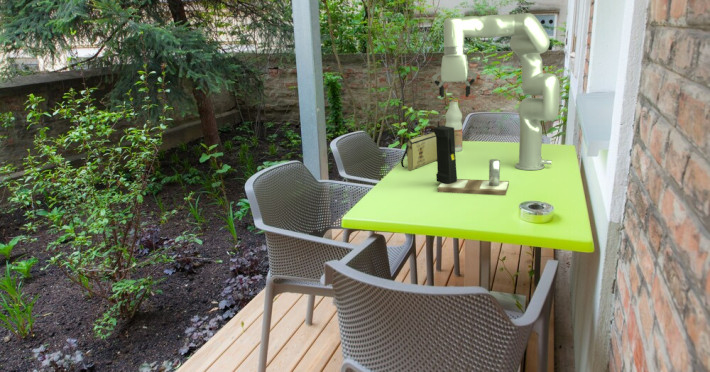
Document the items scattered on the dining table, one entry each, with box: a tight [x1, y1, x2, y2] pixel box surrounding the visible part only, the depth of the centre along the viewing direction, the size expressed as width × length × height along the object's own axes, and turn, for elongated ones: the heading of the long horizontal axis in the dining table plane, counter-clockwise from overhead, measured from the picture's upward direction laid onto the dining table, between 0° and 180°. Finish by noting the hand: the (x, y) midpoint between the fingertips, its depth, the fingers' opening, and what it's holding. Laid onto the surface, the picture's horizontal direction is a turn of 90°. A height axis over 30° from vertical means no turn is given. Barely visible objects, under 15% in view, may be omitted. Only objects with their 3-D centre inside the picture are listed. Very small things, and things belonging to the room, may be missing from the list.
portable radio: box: [433, 120, 458, 184], centre depth 201 cm, size 8×6×25 cm
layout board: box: [437, 178, 510, 196], centre depth 200 cm, size 26×16×2 cm, turn 69°
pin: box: [488, 158, 501, 186], centre depth 196 cm, size 4×4×10 cm
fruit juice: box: [444, 98, 463, 153], centre depth 272 cm, size 9×9×28 cm
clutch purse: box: [400, 132, 437, 172], centre depth 243 cm, size 30×7×15 cm, turn 142°
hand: (454, 96), depth 194 cm, fingers open, 9 cm apart
